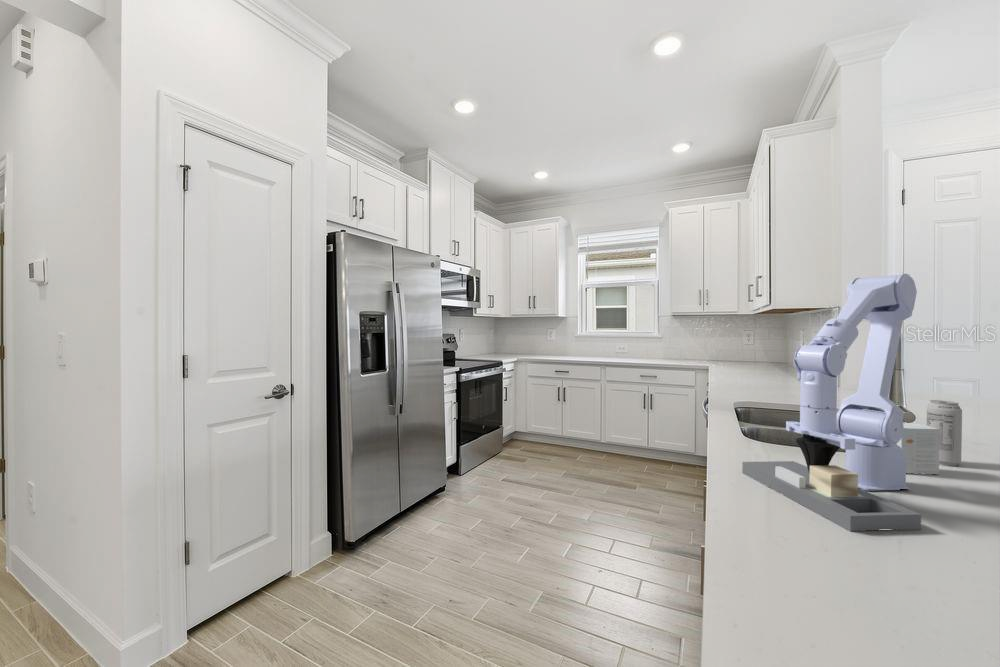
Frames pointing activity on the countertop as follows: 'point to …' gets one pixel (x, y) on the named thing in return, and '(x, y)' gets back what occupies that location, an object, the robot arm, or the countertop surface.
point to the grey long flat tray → (833, 499)
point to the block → (833, 481)
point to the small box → (920, 448)
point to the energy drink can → (947, 429)
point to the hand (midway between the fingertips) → (817, 476)
